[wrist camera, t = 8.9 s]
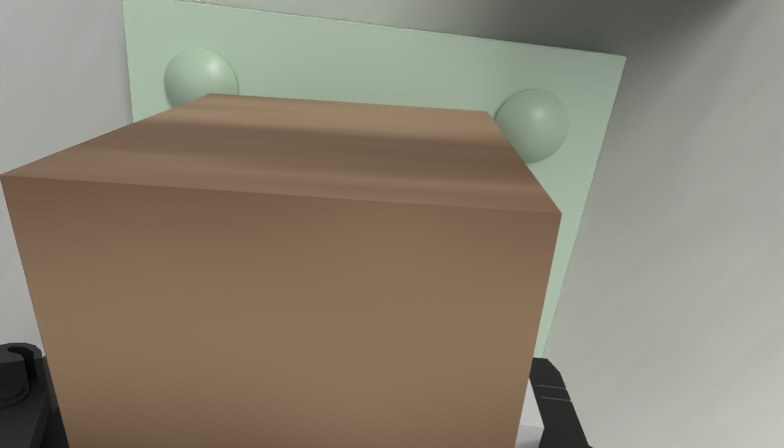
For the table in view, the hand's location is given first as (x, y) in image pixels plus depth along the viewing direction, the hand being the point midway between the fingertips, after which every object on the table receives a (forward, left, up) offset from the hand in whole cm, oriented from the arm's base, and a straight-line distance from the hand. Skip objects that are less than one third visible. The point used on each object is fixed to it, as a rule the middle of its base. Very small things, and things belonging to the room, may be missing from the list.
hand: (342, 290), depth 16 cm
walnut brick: (0, 0, 0) cm, 0 cm away
